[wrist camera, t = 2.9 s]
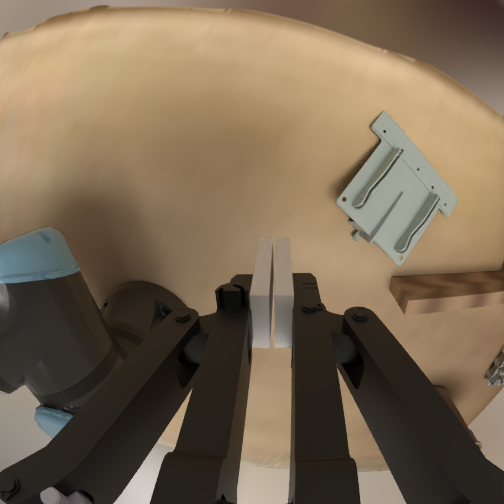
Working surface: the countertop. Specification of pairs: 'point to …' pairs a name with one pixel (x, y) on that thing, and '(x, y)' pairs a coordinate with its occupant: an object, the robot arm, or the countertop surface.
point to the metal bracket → (395, 193)
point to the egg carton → (496, 371)
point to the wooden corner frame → (447, 291)
